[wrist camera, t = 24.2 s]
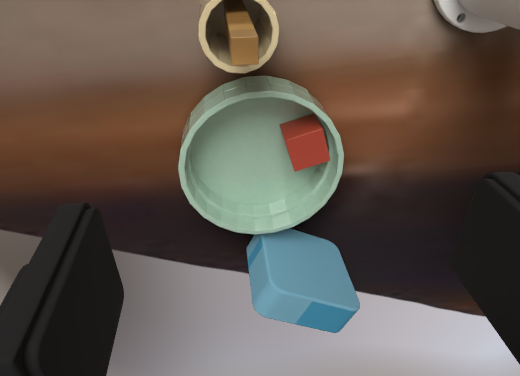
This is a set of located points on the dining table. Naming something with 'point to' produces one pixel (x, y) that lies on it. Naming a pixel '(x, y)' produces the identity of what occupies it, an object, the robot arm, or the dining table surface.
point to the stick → (240, 34)
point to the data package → (300, 280)
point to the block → (305, 142)
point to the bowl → (254, 157)
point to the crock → (217, 40)
